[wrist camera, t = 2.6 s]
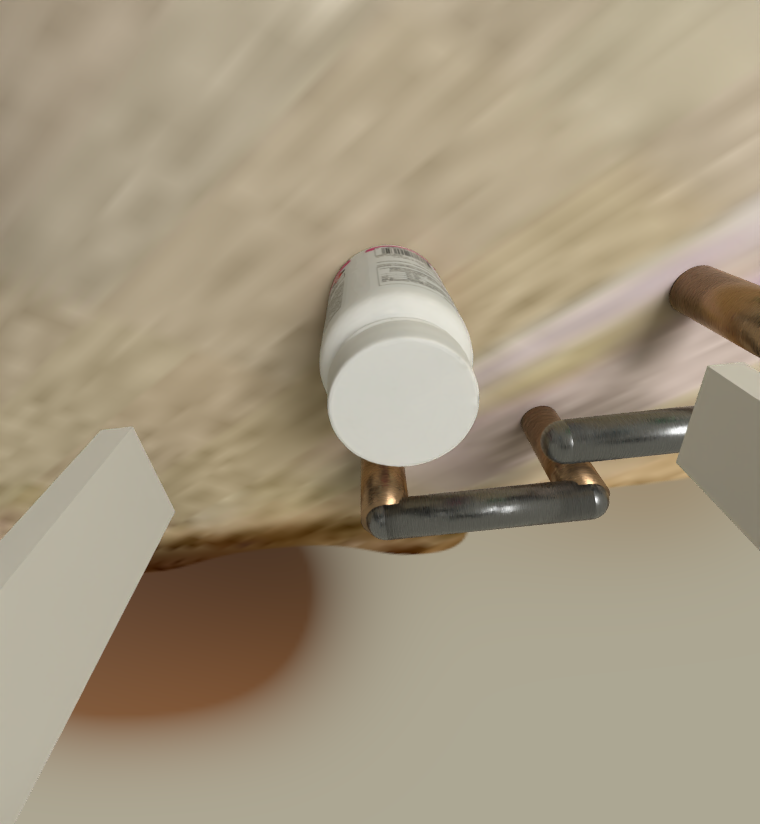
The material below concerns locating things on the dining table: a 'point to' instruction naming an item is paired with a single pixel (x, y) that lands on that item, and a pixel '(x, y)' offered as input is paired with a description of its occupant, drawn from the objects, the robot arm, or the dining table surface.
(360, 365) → the pill bottle
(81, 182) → the dining table surface
